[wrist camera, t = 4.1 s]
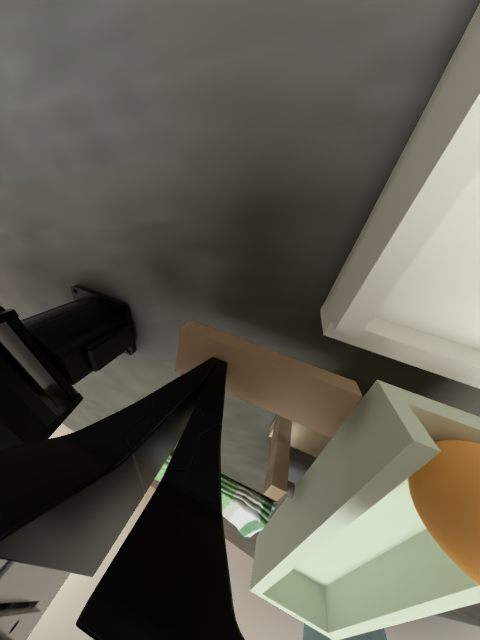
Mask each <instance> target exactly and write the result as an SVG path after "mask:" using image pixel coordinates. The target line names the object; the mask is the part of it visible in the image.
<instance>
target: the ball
mask: <svg viewBox="0 0 480 640" xmlns="http://www.w3.org/2000/svg"><path fill="white" fill-rule="evenodd" d="M435 444H436V445H437V446H438V448H439V449H440V451H441V452H440V453H439V454H438V455H436V456H435V457H434V458H433V459H431V460H430V461H429V462H427V463H426V464H425V465H424V466H422V467H421V468H420V469H419V470H417V471H416V472H415V473H414V474H412V475H411V476H410V477H409V478H408V485H409V490H410V495H411V498H412V501H413V503H414V506H415V508H416V511H417V513H418V515H419V517H420V518H421V520H422V522H423V523H424V525H425V527H426V528H427V530H428V531H429V533H430V534H431V536H432V537H433V538H434V540H435V541H436V542H437V544H438V545H439V546H440V547H441V548H442V550H443V551H444V552H445V553H446V554H447V555H448V556H449V557H450V558H451V559H452V560H453V562H454V563H455V564H456V565H457V566H458V567H459V568H461V569H462V570H463V571H464V572H465V573H466V574H467V575H468V576H469V577H470V578H472V579H473V580H474V581H475V582H477V583H478V584H479V585H480V444H479V443H475V442H469V441H463V440H441V441H436V442H435Z"/></svg>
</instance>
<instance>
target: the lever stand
mask: <svg viewBox="0 0 480 640" xmlns="http://www.w3.org/2000/svg"><path fill="white" fill-rule="evenodd" d="M358 404H359V403H358ZM358 404H357V405H358ZM357 405H356V406H357ZM356 406H355V408H356ZM355 408H354V409H355ZM354 409H353V410H354ZM353 410H352V412H353ZM352 412H351V413H352ZM351 413H350V414H351ZM350 414H349V415H350ZM349 415H348V417H349ZM348 417H347V418H348ZM347 418H346V419H347ZM346 419H345V421H346ZM345 421H344V422H345ZM344 422H343V423H344ZM343 423H342V425H343ZM342 425H341V426H342ZM341 426H340V427H341ZM340 427H339V429H340ZM339 429H338V430H339ZM338 430H337V431H338ZM337 431H336V432H337ZM335 434H336V433H335ZM335 434H334V435H335ZM334 435H333V436H334ZM333 436H332V438H333ZM269 437H272V441H271V448H270V454H269V460H268V467H267V473H266V479H265V485H264V492H263V495H265V496H267V497H269V498H271V499H273V500H275V501H278V500H279V499H280V498H281V497H282V496H283V495H286V496H288V497H290V498H293V496H294V492H295V485H294V483H292V482H290V481H288V470H289V456H290V446H292V447H294V448H296V449H298V450H300V451H303V452H305V453H307V454H309V455H312V456H314V457H316V458H317V457H318V456H319V455H320V453H321V452H322V451H323V449H324V448H325V447H326V446H327V444H328V443H329V442H330V440H331V439H332V438H331V437H328V436H326V435H324V434H321V433H319V432H317V431H314V430H312V429H310V428H307V427H305V426H303V425H300V424H298V423H295V422H293V421H291V420H288V419H286V418H284V417H281V416H279V415H277V417H276V418H275V420H274V422H273V424H272V425H271V427H270V432H269Z"/></svg>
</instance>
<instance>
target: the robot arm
mask: <svg viewBox="0 0 480 640" xmlns="http://www.w3.org/2000/svg"><path fill="white" fill-rule="evenodd" d="M71 291H72V294H73V297H74V300H75V301H72V302H70V303H67V304H64V305H61V306H59V307H56V308H53V309H50V310H48V311H45V312H42V313H39V314H37V315H34V316H31V317H28V318H26V319H23V320H20V319H19V318H18V317H19V315H18V314H17V313H16V311H15V310H14V309H7V310H5V309H4V308H3V307H1V306H0V640H26V639H27V638H28V636H29V635H30V633H31V632H32V630H33V629H34V627H35V625H36V624H37V623H38V621H39V620H40V618H41V617H42V615H43V614H44V612H45V611H46V609H47V607H48V606H49V605H50V603H51V601H52V600H53V599H54V597H55V595H56V594H57V592H58V591H59V589H60V588H61V586H62V585H63V583H64V582H65V580H66V579H67V577H68V576H69V574H70V573H75V574H80V575H85V576H90V577H93V576H94V574H95V573H96V571H97V569H98V568H99V566H100V565H101V563H102V561H103V560H104V558H105V557H106V555H107V554H108V552H109V550H110V549H111V547H112V545H113V544H114V543H115V541H116V539H117V538H118V536H119V535H120V533H121V531H122V530H123V528H124V527H125V525H126V523H127V522H128V520H129V518H130V517H131V516H132V514H133V512H134V511H135V509H136V508H137V506H138V504H139V503H140V501H141V500H142V498H143V497H144V494H145V493H146V492H147V490H148V488H149V487H150V485H151V484H152V482H153V481H154V479H155V477H156V476H157V474H158V473H159V471H160V469H161V468H162V466H163V465H164V463H165V462H166V460H167V458H168V457H169V455H170V454H171V452H172V450H173V449H174V447H175V446H176V444H177V442H178V441H179V442H178V444H177V446H176V449H175V451H174V453H173V455H172V457H171V459H170V462H169V464H168V466H167V468H166V471H165V473H164V475H163V477H162V479H161V481H160V483H159V485H158V487H157V489H156V491H155V492H154V494H153V496H152V498H151V499H150V501H149V502H148V504H147V505H146V507H145V509H144V510H143V512H142V514H141V515H140V517H139V518H138V520H137V522H136V523H135V525H134V527H133V528H132V530H131V532H130V533H129V535H128V536H127V538H126V540H125V541H124V543H123V544H122V546H121V548H120V549H119V551H118V553H117V554H116V556H115V558H114V559H113V561H112V562H111V564H110V566H109V567H108V569H107V571H106V572H105V574H104V575H103V577H102V579H101V580H100V582H99V583H98V585H97V587H96V588H95V590H94V592H93V593H92V595H91V597H90V598H89V600H88V602H87V603H86V605H85V607H84V609H83V611H82V612H81V614H80V616H79V618H78V620H77V622H76V625H77V627H78V628H79V629H81V630H82V631H83V632H85V633H86V634H87V635H89V636H90V637H92V638H93V639H94V640H245V639H244V637H243V636H242V634H241V632H240V630H239V627H238V624H237V622H236V618H235V613H234V608H233V600H232V592H231V584H230V576H229V568H228V560H227V553H226V544H225V536H224V527H223V515H222V491H221V431H222V419H223V408H224V397H225V386H226V375H227V362H225V361H223V360H220V359H218V358H215V357H212V358H210V359H208V360H206V361H205V362H203V363H201V364H200V365H198V366H196V367H195V368H193V369H191V370H190V371H188V372H186V373H185V374H183V375H181V376H180V377H178V378H176V379H175V380H173V381H171V382H170V383H168V384H166V385H165V386H163V387H161V388H160V389H158V390H156V391H155V392H154V394H153V393H151V394H150V395H148V396H146V397H145V398H143V399H141V400H139V401H137V402H136V403H134V404H132V405H130V406H128V407H126V408H124V409H122V410H120V411H118V412H116V413H114V414H112V415H110V416H108V417H106V418H104V419H102V420H100V421H98V422H96V423H93V424H91V425H89V426H87V427H85V428H83V429H81V430H79V431H76V432H74V433H71V434H68V435H65V436H61V437H57V438H52V439H48V438H49V437H50V436H51V435H52V433H54V431H55V430H56V429H57V428H58V427H59V426H60V425H61V424H62V422H63V421H64V420H65V419H66V418H67V417H68V416H69V414H70V413H71V412H72V411H73V410H74V409H75V408H76V407H77V405H78V404H79V403H80V402H81V401H82V400H83V397H82V395H81V394H80V393H77V391H76V390H75V389H74V388H73V386H72V385H74V384H76V383H77V382H78V381H80V380H81V379H83V378H84V377H85V376H87V375H88V374H90V373H91V372H92V371H94V372H97V371H98V370H100V369H101V368H103V367H104V366H106V365H107V364H108V363H110V362H111V361H112V360H114V359H115V358H116V357H118V356H119V355H120V354H122V353H123V352H124V353H127V354H129V355H132V354H133V353H135V345H134V338H133V332H132V325H131V318H130V311H129V307H128V305H127V304H125V303H123V302H121V301H118V300H115V299H113V298H110V297H108V296H105V295H102V294H100V293H97V292H94V291H92V290H89V289H87V288H84V287H81V286H79V285H75V286H72V287H71ZM71 384H72V385H71ZM179 439H180V440H179Z"/></svg>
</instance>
